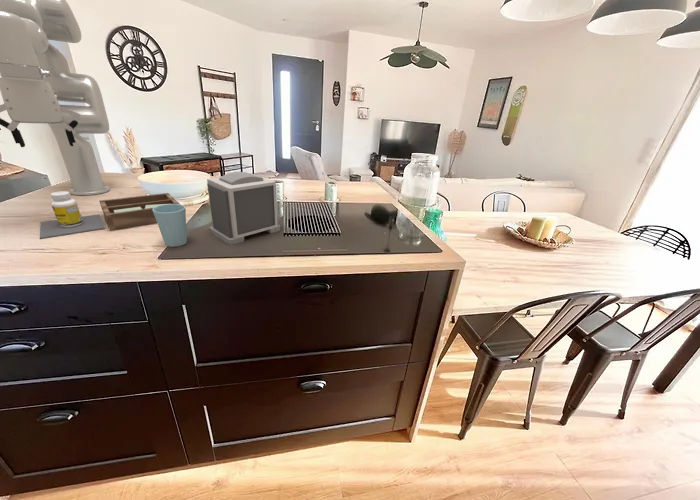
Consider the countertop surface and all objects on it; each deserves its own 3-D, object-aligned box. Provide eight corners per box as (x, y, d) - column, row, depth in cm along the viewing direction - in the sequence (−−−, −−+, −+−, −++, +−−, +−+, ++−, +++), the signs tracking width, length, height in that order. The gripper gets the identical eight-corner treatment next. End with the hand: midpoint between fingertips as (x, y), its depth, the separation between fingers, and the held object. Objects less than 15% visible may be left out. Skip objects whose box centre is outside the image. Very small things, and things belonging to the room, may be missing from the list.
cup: (173, 235, 87) (166, 202, 83) (197, 239, 86) (191, 205, 82) (154, 246, 81) (145, 210, 76) (179, 250, 80) (172, 214, 75)
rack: (103, 215, 98) (99, 200, 95) (170, 205, 110) (168, 193, 108) (110, 231, 87) (105, 215, 85) (183, 219, 100) (181, 204, 97)
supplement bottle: (55, 225, 86) (42, 193, 82) (75, 220, 91) (64, 189, 87) (67, 229, 85) (55, 196, 81) (88, 223, 90) (77, 192, 85)
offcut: (117, 223, 93) (113, 210, 91) (143, 219, 97) (140, 206, 95) (119, 227, 90) (115, 213, 88) (146, 223, 94) (142, 210, 92)
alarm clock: (259, 219, 105) (256, 167, 97) (282, 230, 97) (280, 175, 89) (208, 231, 92) (199, 173, 84) (230, 245, 85) (222, 182, 76)
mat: (41, 223, 88) (40, 221, 88) (99, 215, 97) (99, 214, 97) (40, 239, 79) (39, 237, 79) (105, 228, 88) (104, 227, 88)
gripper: (68, 77, 80) (88, 143, 88) (-30, 68, 69) (3, 144, 77) (69, 78, 75) (90, 147, 83) (-36, 68, 64) (0, 149, 72)
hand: (48, 145), depth 80 cm, fingers open, 9 cm apart
